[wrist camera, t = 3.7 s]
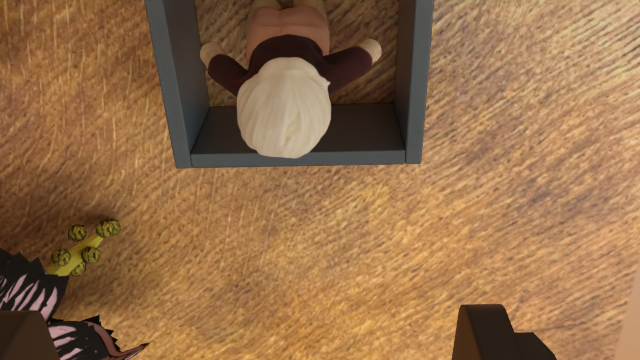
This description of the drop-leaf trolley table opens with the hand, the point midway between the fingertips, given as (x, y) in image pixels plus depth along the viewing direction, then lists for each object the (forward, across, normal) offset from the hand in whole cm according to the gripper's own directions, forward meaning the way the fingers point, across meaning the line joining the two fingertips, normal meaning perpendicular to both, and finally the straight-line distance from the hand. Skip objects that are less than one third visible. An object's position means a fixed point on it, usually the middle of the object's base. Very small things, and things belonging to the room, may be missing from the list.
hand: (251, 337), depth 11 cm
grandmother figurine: (+22, 0, 0) cm, 22 cm away
